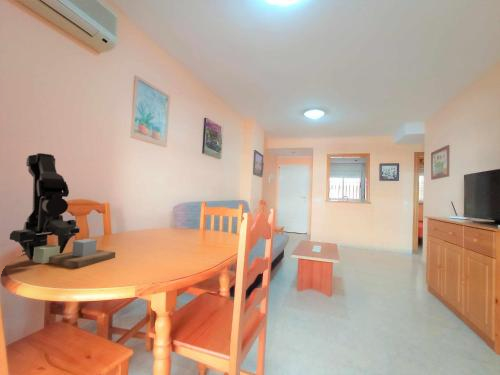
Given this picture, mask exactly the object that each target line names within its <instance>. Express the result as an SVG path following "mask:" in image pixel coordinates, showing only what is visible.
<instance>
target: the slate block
mask: <svg viewBox="0 0 500 375" xmlns="http://www.w3.org/2000/svg"><path fill="white" fill-rule="evenodd" d="M72 241H73V242H72V251H71V252H72V255H74V256H80V257H84V256H88V255H92V254H96V249H97V239H90V238H84V239H79V240H72Z"/></svg>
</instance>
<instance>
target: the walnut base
mask: <svg viewBox="0 0 500 375" xmlns="http://www.w3.org/2000/svg"><path fill="white" fill-rule="evenodd" d="M72 252H73V251H69V252H65V253H61V254H60V253H59V255H55V256H50V257H49V262H48V263H49V264H54V265H59V266H60V265H61V266H66V267H71V268H76V269H82V268H85V267H88V266H92V265H95V264H98V263H101V262H102V263H103V262H105V261H108V260H111V259H115V258H116V251H114V252H113V251H108V250H102V249H97V248H96V254H92V255H88V256H84V257H80V256H74V255H72Z"/></svg>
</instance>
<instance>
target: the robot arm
mask: <svg viewBox="0 0 500 375" xmlns="http://www.w3.org/2000/svg"><path fill="white" fill-rule="evenodd" d="M26 167H28V168H27V171H28V173H29V174H30V175H31V177H32V178H33V179H32V180H33V182H32V212H31V213H30V215H29V216H28V217H27V219H26V221H25V222H24V224H23V229H17V230H13V231H11V232H10V234H9V240H10V241H14V242H16V243H18V244H19V245H20V246H21V247H22V250H21V252H22V253H23V252H24V253H25V254H26V256H27V258H28V260H29V261H30V260H31V261H33V255H34V247H40V246H45V245H48V236H53V235H54V236H56V237H57V246H60V252H59V254H63V252H64V250H65V248H66V246H67V244H68V242H69V240H71V238H73V237H74V236H76V235H77V234H80V230H81V229H80V227H79V225H77V220H75V219H69V220H64V215H63V214H65V212H66V211H67V210H68V208H69V204H68V202H67V201H66V200H65V197H66V198H68V197H69V193H70V192H69V191H70V190H69V187H68V184H67V181H65V179H64V177H63V176H62V175H61V174H59V173H58V172H57V168H56V158H55V156H54V155H52V154H50V153H41V152H38V153H36V154H31V155H28V156H27V158H26Z"/></svg>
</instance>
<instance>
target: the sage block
mask: <svg viewBox="0 0 500 375" xmlns="http://www.w3.org/2000/svg"><path fill="white" fill-rule="evenodd" d="M59 252H60V246H58V245H54V244H47V245H45V246H40V247H34V255H33V260H32V262H33V263H37V264H38V263H39V264H47V263H49V257H50V256H55V255H59V254H60V253H59Z"/></svg>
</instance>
